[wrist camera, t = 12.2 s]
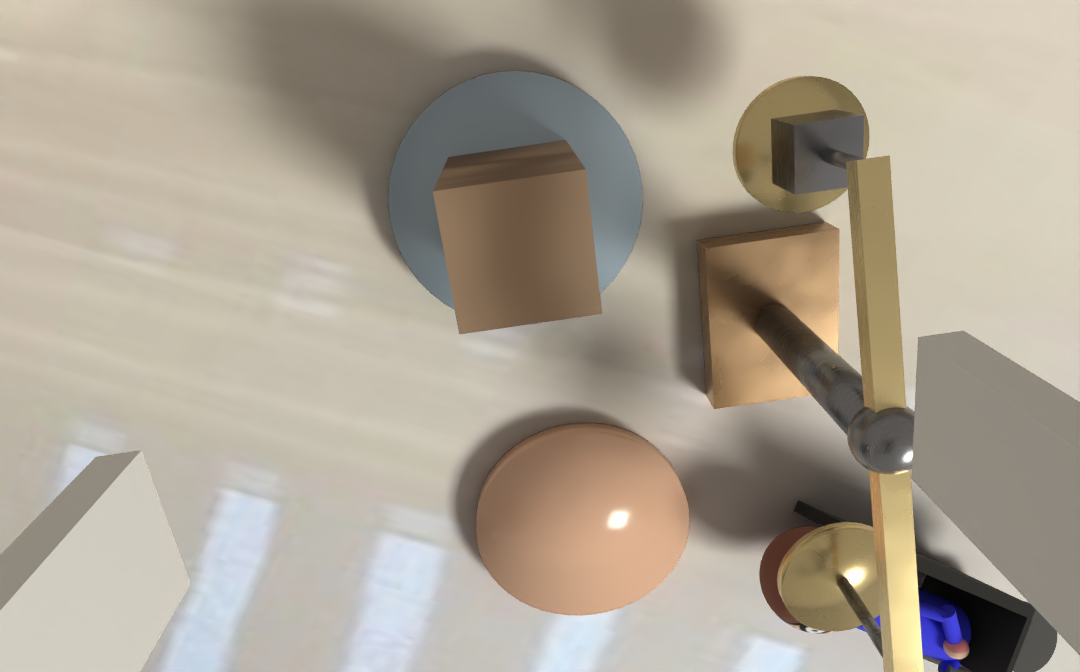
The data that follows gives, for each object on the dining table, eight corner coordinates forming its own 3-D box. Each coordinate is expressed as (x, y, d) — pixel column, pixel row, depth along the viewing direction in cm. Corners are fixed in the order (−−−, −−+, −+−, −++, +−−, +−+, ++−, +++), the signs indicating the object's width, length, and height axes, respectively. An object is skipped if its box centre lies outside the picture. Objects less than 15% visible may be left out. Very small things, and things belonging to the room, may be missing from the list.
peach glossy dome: (494, 612, 42) (493, 628, 41) (460, 439, 38) (458, 451, 37) (690, 584, 42) (695, 599, 41) (677, 408, 38) (682, 419, 37)
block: (468, 270, 34) (459, 334, 26) (448, 156, 32) (432, 191, 25) (579, 254, 34) (602, 313, 26) (565, 139, 32) (585, 169, 25)
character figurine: (935, 636, 45) (723, 542, 42) (1022, 550, 42) (802, 442, 39) (1011, 758, 38) (762, 656, 35) (1121, 664, 35) (861, 544, 32)
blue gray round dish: (417, 331, 36) (415, 341, 35) (367, 90, 32) (363, 92, 31) (647, 299, 36) (652, 307, 35) (626, 53, 32) (631, 53, 31)
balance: (713, 513, 41) (823, 754, 27) (687, 82, 33) (824, 110, 19) (824, 497, 41) (992, 730, 27) (826, 62, 33) (1064, 75, 19)
